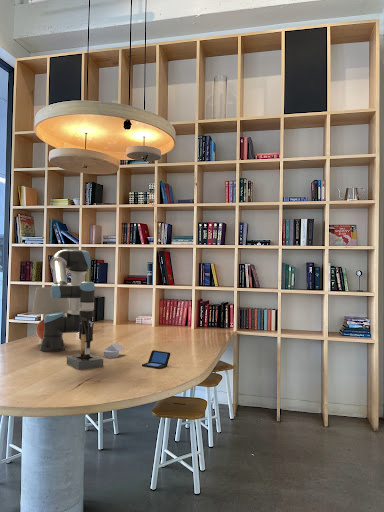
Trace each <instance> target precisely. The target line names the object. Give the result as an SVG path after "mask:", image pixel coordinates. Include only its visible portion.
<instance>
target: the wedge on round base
mask: <svg viewBox="0 0 384 512" xmlns="http://www.w3.org/2000/svg"><path fill="white" fill-rule="evenodd" d="M124 349H125V348H124V347H123V346H121V344H120V343H118V342H116V343H113V344H111V345H109V346H108V347H107V348H105V349H103V357H104V358H109V359H110V358H118V357H119V354H120V351H122V350H124Z"/></svg>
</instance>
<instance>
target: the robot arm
mask: <svg viewBox="0 0 384 512" xmlns="http://www.w3.org/2000/svg"><path fill="white" fill-rule="evenodd" d="M91 263H92V262H91V255H90V253H89V251H88V250H83V249H82V250H81V249H62V250H59V251H57V252H56V253H54V254H53V256H52V257H51V259H50V268H51V269H52V277H53V284H51V286H50V287H51V297H52V298H68V299H69V310H68V311H67V314H63V313H62V312H60V313H51V314H45V315H44V336H43V340H42V343H41V342H40V346H39V351H41V350H42V351H41V352H47V351H54V352H61V351H60V350H62V351H65V350H64V349H66V345H65V342H64V338H63V335H64V334H68V333H69V334H70V333H72V334H73V333H74V334H75V333H78V338H79V340H80V341H81V334H86V341H85V355H86V354H91V343H92V342H93V340H94V322H92V319H93V318H94V315H95V312H94V310H95V289H96V286H95V283H94V281H86V274H87V272H89V269H91V267H92V266H91V265H92V264H91ZM67 269H69V270H68V271H69V272H70V274H71V277H70V284H68V276H67ZM62 334H63V335H62ZM79 351H80V352H81V349H80V350H79Z"/></svg>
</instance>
